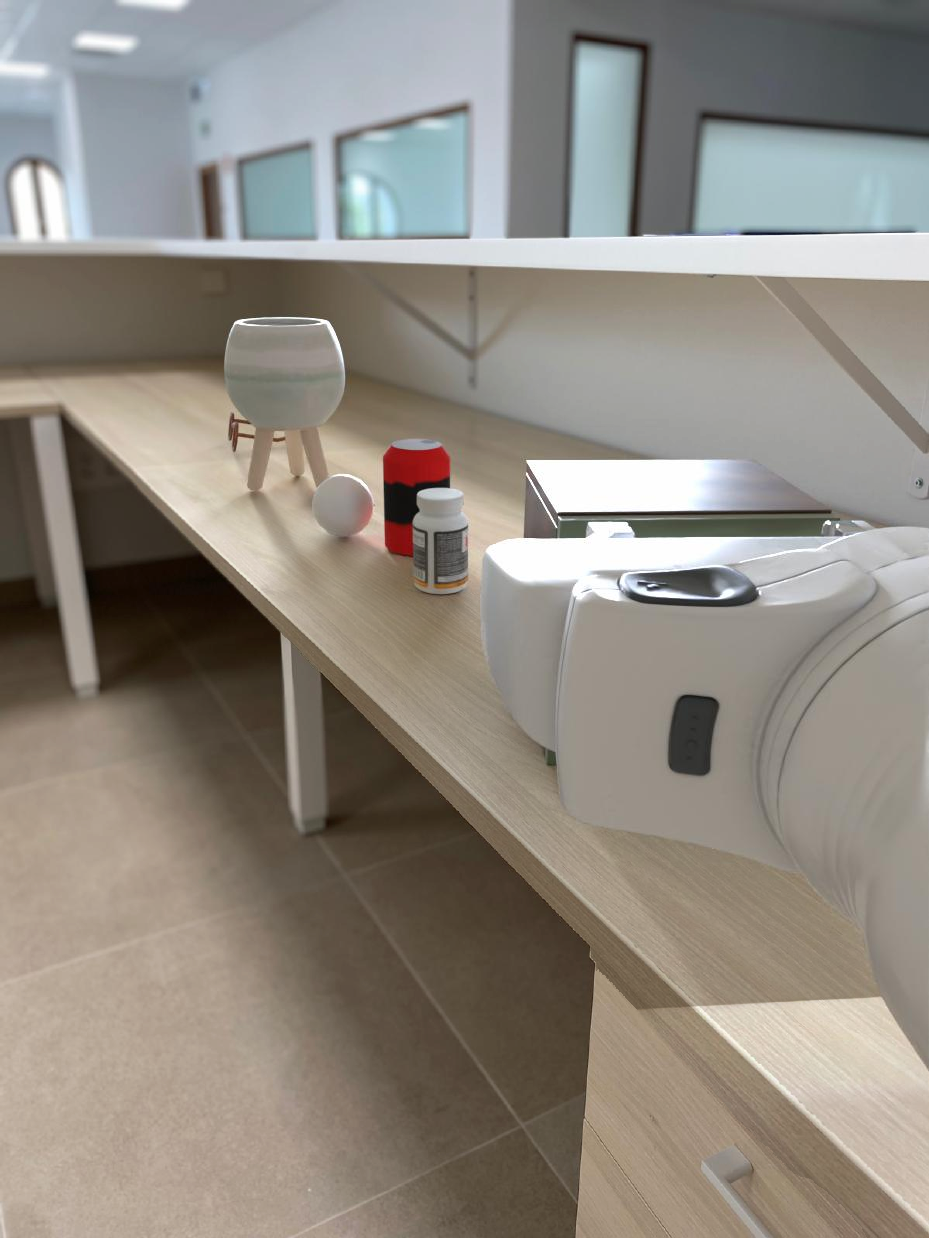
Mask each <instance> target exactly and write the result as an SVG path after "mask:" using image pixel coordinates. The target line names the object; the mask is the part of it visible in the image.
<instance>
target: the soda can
mask: <svg viewBox="0 0 929 1238" xmlns="http://www.w3.org/2000/svg"><path fill="white" fill-rule="evenodd" d="M382 476H383V483H382V485H383V523H384V524H383V527H384V528H383V529H384V530H383V531H384V533H383V534H384V546H385V548H387V550H389V552H392V553H393V554H397V555H400V556H406V557H413V519H414V517H415V515H416V514H417V513H419V512H420V509H419V508H418V506H417V493H418V492H419V491H422V490H425V489H430V488H450V489H451V455H450V453H449V452H448V451H447V450H446V448H445V447H444V446H443V444H442V442H441V441H437V440H435V439H427V438H407V439H399V440H395V441H393V442H391V444H390V446H389V447H388V449H387V450H386V451H385V452H384V454H383V456H382Z"/></svg>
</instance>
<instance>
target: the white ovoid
mask: <svg viewBox="0 0 929 1238" xmlns="http://www.w3.org/2000/svg"><path fill="white" fill-rule="evenodd" d="M329 477H330V478H328V479H326V480H324V481H323V482H322V483H321V484H320V485H319V486H318V488H317V487H316V489H315V492H314V494H313V495H312V503H311V508H312V509H311V510H312V513H313V517H314V519H315V520H316V522H317V523H318V525H319V526H320V527H321V528H322V529H323V530H324V531H325V532H327V533H329V534H331V535H334V536H336V537H337V536H338V537H350V536H351V537H352V536H353V535H356V534H359V533H360V532H361V531H363V530H364V529H365V528H367V526H368V525H369V523H370V522H371V520H372V517H373V515H374V508H375V507H376V504H375V502H374V497H373V494H372V493H371V490H370V488H369V487H368V486H367V484H365V483H364V482H363V481H362V480H361V479H360V478H358V477H356V476H353V475H350V474H346V473H345V474H334V475H332V476H329Z"/></svg>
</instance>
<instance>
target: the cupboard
mask: <svg viewBox="0 0 929 1238" xmlns="http://www.w3.org/2000/svg"><path fill="white" fill-rule="evenodd" d="M525 473H526V474H525V493H524V494H525V497H524V519H523V520H524V521H523V539H557V528H558V516H612V515H721V514H829V513H833V510H832V509H831V508H830V507H828V506H826V505H825V504H823V502H820V501H819V500H817V499H816V498H814V497H813V496H811V495H810V494H808V493H806V492H804V491H803V490H802V489H800V488H798V487H797V486H795V484H792V483H791V482H789V481H788V480H786V479H784V478H783V477H782V476H780V475H778V474H777V473H775V472H774V471H772V470H770V469H769V468H767V467H766V466H765V465H763V464H761V463H760V462H758V461H756V460H755V459H599V460H598V459H596V460H595V459H590V460H589V459H588V460H587V459H586V460H583V459H581V460H575V459H573V460H572V459H571V460H562V459H561V460H526V470H525ZM540 747H541V752H542V755H543V757H545V747H543V746H541V745H540Z"/></svg>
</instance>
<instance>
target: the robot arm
mask: <svg viewBox="0 0 929 1238" xmlns="http://www.w3.org/2000/svg"><path fill="white" fill-rule="evenodd" d="M821 535H822V537H720V538H634V537H635V533H634V532H633V530H632V529H631V528H629V527H628V524H627V523H612V522H602V523H601V522H589V523H588V525H587V529H586V539H524V538H512V539H505V540H503V541H500V542H497V543H496V544H492V545H490V546H489V547H488V548H486V550H485V551H484V552H483V556H482V564H481V566H482V567H481V578H480V579H481V580H480V638H481V639H480V640H481V645H482V650H483V653H484V654H483V655H484V658H485V660H486V661H485V662H486V664H487V667H488V669H489V672H490V674H491V677H492V680H493V682H494V685H495V687H496V688H497V691H498V693H499V695H500V698H501V699H502V701H503V703H504V705H505V706H506V708H507V710H508V712H509V714H510V716H511V717H512V719H513V720H514V722H515V723H516V724H517V726H518V727H519V728H520V729H521V731H523V733H524V734H525V735H527V737H529V738H530V739H531V740H532V741H534V742H535V743H537V744H538V745H540V747H541V746H543V747H545V748H547V749H549V750H551V751H554V752H556V763H557V765H556V773H557V787H558V792H559V793H558V794H559V799H560V802H561V804H562V806H563V808H564V811H566V813H567V814H568V815H569V816H571V817H572V818H573V819H574V820H577V821H578V822H580V823H583V824H586V825H589V826H593V827H597V828H602V829H603V828H604V829H609V830H614V831H621V832H627V833H633V834H640V835H644V836H645V835H646V836H651V837H657V838H664V839H668V840H672V841H679V842H682V843H687V844H693V845H696V846H700V847H705V848H708V849H709V848H710V849H713V850H717V851H720V852H724V853H728V854H732V855H735V856H738V857H741V858H745V859H748V860H750V861H753V862H756V863H760V864H763V865H765V866H768V867H771V868H774V869H777V870H780V871H784V872H788V873H794V874H797V875H798V874H799V875H802V876H803V878H804V879H805V881H806V882H807V883H808V885H809V886H810V887H811V888H812V889H813V890H814V892H815V893H817V895H818V896H819V897H820V898H822V899H823V901H824V902H825V903H826V904H827V905H829V906H830V907H831V908H832V909H834V911H836V912H837V913H838V914H840V915H841V916H842V917H844V918H845V919H846V920H848V921H849V922H851V923H852V924H854V925H855V927H856V928H858V929H857V930H858V931H860V934H861V936H862V940H863V945H864V948H865V953H866V958H867V960H868V965H869V968H870V971H871V973H872V976H873V979H874V982H875V984H876V988H877V989H878V993H879V994H880V996H881V998H882V1000H883V1002H884V1003H885V1006H886V1007H887V1009H888V1011H889V1013H890V1014H891V1016H892V1017H893V1019H894V1021H895V1022H896V1024H897V1025H898V1027H899V1028H900V1031H901V1032H902V1033H903V1035H904V1036H905V1038H906V1039H907V1041H908V1042H909V1044H910V1045H911V1047H912V1049H913V1050H914V1051H915V1053H916V1054H917V1056H918V1057H919V1058H920V1060H921V1062H922V1063H923V1065H924V1066H925V1068H926V1069H927V1071H928V1072H929V527H922V526H909V525H908V526H889V527H882V528H876V527H875V526H874V525H871V524H870V523H868V522H866V521H865V520H840V521H827V522H825V523H824V524H823V527H822V531H821Z"/></svg>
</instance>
